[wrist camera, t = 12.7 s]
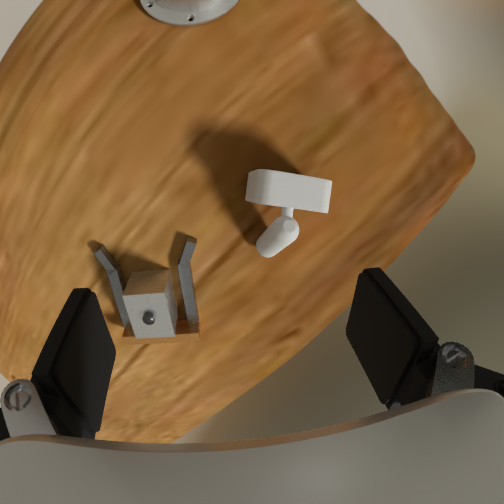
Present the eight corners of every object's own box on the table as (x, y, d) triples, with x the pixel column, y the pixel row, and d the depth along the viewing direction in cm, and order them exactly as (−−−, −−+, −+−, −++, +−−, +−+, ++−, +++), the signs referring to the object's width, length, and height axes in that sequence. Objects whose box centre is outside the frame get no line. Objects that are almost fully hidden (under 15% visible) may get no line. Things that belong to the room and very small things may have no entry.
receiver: (96, 245, 37) (87, 256, 34) (196, 235, 38) (195, 246, 35) (121, 329, 43) (117, 344, 40) (208, 324, 45) (208, 340, 42)
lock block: (131, 271, 39) (121, 298, 34) (169, 268, 40) (164, 295, 34) (142, 312, 43) (135, 341, 37) (178, 309, 43) (174, 339, 37)
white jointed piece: (234, 252, 40) (246, 273, 30) (244, 173, 38) (260, 168, 28) (293, 257, 41) (321, 278, 31) (304, 182, 39) (336, 181, 30)
